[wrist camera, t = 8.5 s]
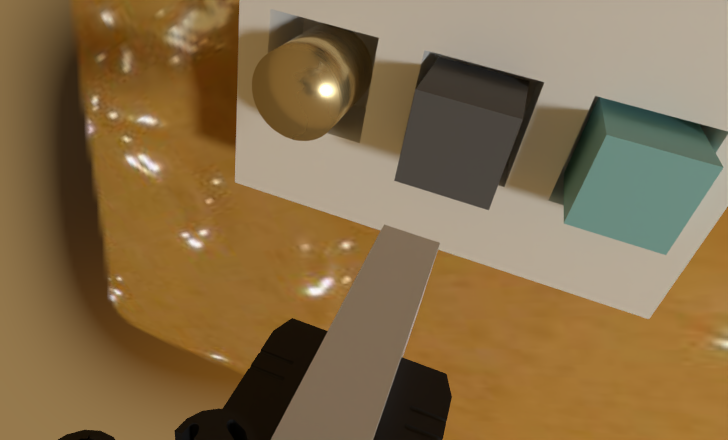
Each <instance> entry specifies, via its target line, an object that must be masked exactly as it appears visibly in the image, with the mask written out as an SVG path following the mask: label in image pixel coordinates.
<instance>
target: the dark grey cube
mask: <svg viewBox="0 0 728 440" xmlns="http://www.w3.org/2000/svg"><path fill="white" fill-rule="evenodd" d="M528 87H529V81H528V80H524V79H520V78H516V77H513V76H509V75H505V74H501V73H498V72H494V71H490V70H487V69H483V68H479V67H475V66H472V65H468V64H464V63H461V62H457V61H453V60H449V59H446V58H442V57H438V59H437V60H436V62H435V63H434V64H433V66H432V67H431V69H430V70H429V71H428V73H427V74H426V75H425V77H424V78H423V80H422V81H421V82H420V84H419V85H418V87H417V88H416V90H415V94H414V98H413V102H412V107H411V111H410V115H409V120H408V124H407V128H406V132H405V137H404V141H403V145H402V149H401V154H400V158H399V162H398V167H397V171H396V175H395V179H394V181H397V182H400V183H403V184H406V185H409V186H413V187H416V188H419V189H422V190H425V191H429V192H432V193H435V194H438V195H441V196H444V197H448V198H451V199H454V200H457V201H460V202H464V203H467V204H470V205H473V206H476V207H480V208H483V209H486V210H489V208H490V206H491V203H492V200H493V198H494V195H495V192H496V190H497V187H498V184H499V182H500V179H501V176H502V174H503V171H504V168H505V166H506V163H507V160H508V158H509V155H510V152H511V150H512V147H513V144H514V142H515V139H516V136H517V134H518V131H519V128H520V125H521V123H522V120H523V115H524V110H525V104H526V98H527V92H528Z"/></svg>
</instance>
